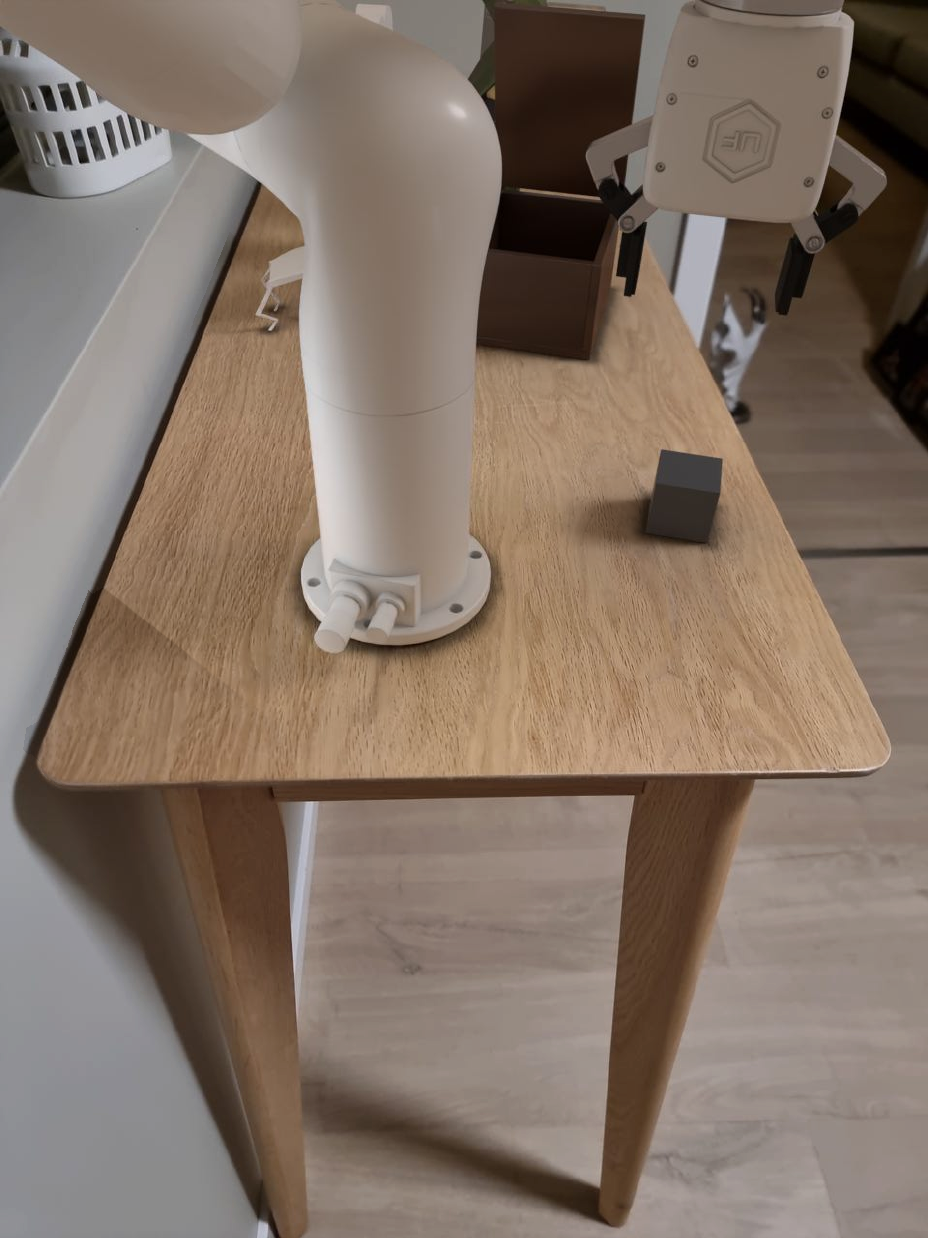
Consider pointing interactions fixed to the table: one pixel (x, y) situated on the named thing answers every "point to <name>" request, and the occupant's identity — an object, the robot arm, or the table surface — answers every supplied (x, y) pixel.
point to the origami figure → (282, 276)
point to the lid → (562, 90)
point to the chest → (547, 274)
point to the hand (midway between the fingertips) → (704, 296)
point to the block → (685, 496)
